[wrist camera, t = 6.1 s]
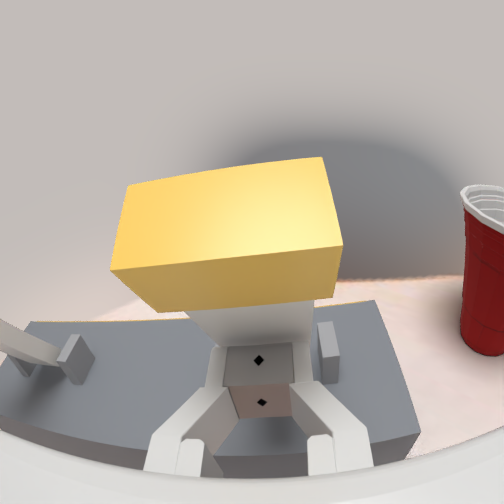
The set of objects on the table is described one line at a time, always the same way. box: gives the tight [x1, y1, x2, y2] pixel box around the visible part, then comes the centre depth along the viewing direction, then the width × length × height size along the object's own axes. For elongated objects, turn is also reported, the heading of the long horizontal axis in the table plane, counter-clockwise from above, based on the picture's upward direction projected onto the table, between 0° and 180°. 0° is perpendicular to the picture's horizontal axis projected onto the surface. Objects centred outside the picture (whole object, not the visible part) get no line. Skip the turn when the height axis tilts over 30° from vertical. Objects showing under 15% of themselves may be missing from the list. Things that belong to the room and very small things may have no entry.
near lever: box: [110, 157, 343, 348], centre depth 10 cm, size 4×2×12 cm, turn 89°
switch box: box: [0, 300, 421, 479], centre depth 18 cm, size 28×10×8 cm, turn 88°
